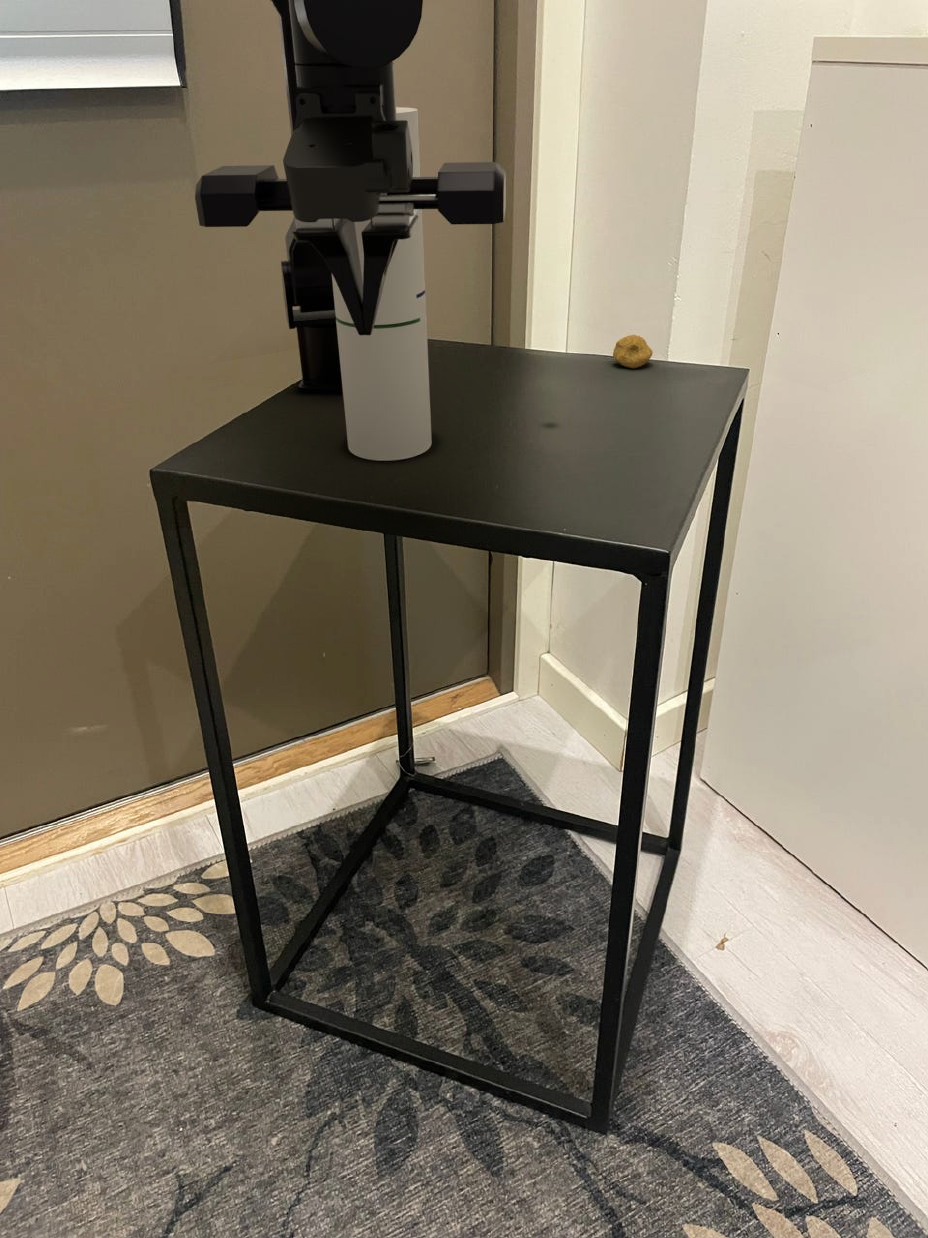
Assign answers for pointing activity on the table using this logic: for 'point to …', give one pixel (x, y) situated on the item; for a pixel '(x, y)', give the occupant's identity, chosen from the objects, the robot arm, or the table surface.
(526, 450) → the table surface
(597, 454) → the table surface
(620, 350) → the tan lumpy rounded lump
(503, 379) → the table surface
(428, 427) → the cylindrical container
